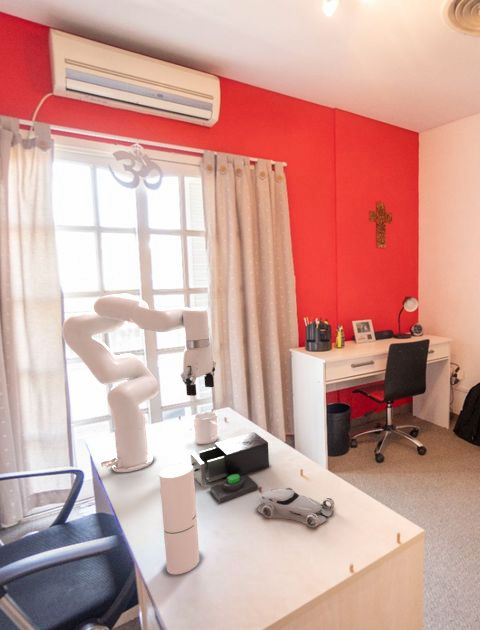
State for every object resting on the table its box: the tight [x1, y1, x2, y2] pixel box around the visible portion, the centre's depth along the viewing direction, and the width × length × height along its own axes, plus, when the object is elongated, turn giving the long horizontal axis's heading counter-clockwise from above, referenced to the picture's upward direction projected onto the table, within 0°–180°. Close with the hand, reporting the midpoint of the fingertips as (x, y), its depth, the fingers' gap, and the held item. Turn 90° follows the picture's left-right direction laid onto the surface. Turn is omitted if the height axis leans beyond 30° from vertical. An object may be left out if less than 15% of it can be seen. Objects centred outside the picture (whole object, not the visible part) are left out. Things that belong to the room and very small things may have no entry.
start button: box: [228, 474, 240, 484], centre depth 138 cm, size 4×4×2 cm
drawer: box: [190, 446, 227, 487], centre depth 146 cm, size 18×11×8 cm, turn 134°
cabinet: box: [214, 431, 270, 479], centre depth 153 cm, size 15×13×10 cm
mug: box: [193, 411, 220, 445], centre depth 175 cm, size 12×9×11 cm
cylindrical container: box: [158, 462, 200, 575], centre depth 103 cm, size 7×7×25 cm
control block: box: [210, 474, 259, 504], centre depth 138 cm, size 12×9×4 cm
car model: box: [256, 487, 335, 528], centre depth 127 cm, size 11×24×5 cm, turn 71°
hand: (200, 390), depth 148 cm, fingers open, 9 cm apart
